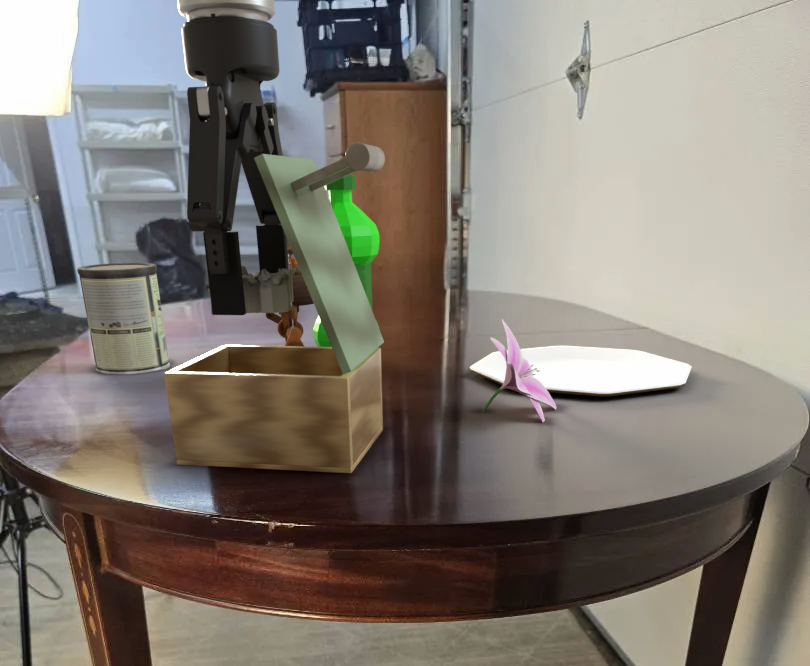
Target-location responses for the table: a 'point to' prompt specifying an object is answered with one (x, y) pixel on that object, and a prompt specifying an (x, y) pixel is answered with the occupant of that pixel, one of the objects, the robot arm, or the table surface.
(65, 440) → the table surface
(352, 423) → the tan wooden box
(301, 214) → the lid
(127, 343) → the coffee can
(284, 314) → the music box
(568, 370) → the plate
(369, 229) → the plastic bottle
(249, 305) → the egg carton
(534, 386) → the lily
